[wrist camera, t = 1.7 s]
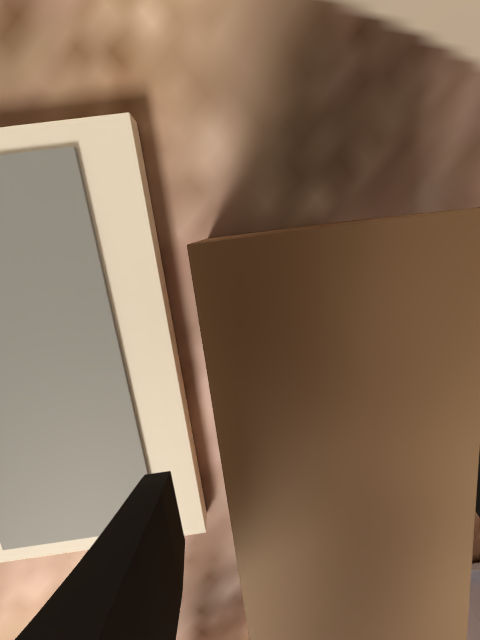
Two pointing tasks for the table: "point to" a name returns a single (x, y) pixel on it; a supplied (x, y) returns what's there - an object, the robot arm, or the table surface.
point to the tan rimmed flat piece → (84, 339)
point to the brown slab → (348, 421)
